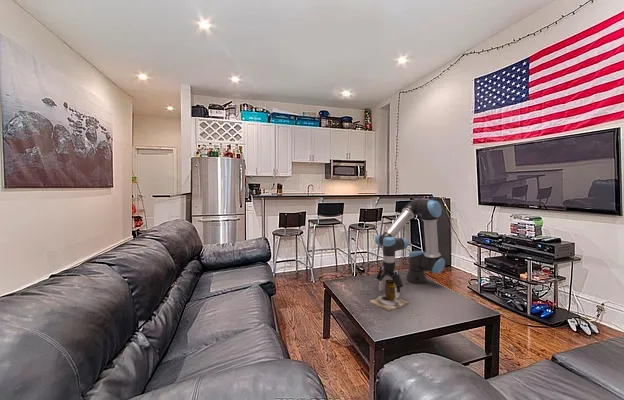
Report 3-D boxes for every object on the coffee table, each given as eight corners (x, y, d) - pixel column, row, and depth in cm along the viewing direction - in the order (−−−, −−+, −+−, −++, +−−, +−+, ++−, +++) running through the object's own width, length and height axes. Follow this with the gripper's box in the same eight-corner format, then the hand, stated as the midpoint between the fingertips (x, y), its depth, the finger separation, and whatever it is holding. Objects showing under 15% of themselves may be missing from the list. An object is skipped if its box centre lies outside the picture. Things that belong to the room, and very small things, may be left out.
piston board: (389, 295, 194) (389, 291, 194) (408, 303, 181) (408, 299, 181) (370, 302, 185) (370, 298, 184) (388, 311, 171) (388, 307, 171)
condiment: (397, 299, 182) (397, 281, 181) (388, 302, 177) (388, 284, 176) (388, 295, 188) (388, 277, 187) (380, 298, 183) (380, 280, 182)
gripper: (370, 258, 189) (370, 288, 191) (400, 267, 168) (400, 301, 170) (378, 256, 193) (378, 286, 195) (409, 265, 172) (408, 298, 174)
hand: (389, 293), depth 182 cm, fingers open, 13 cm apart
